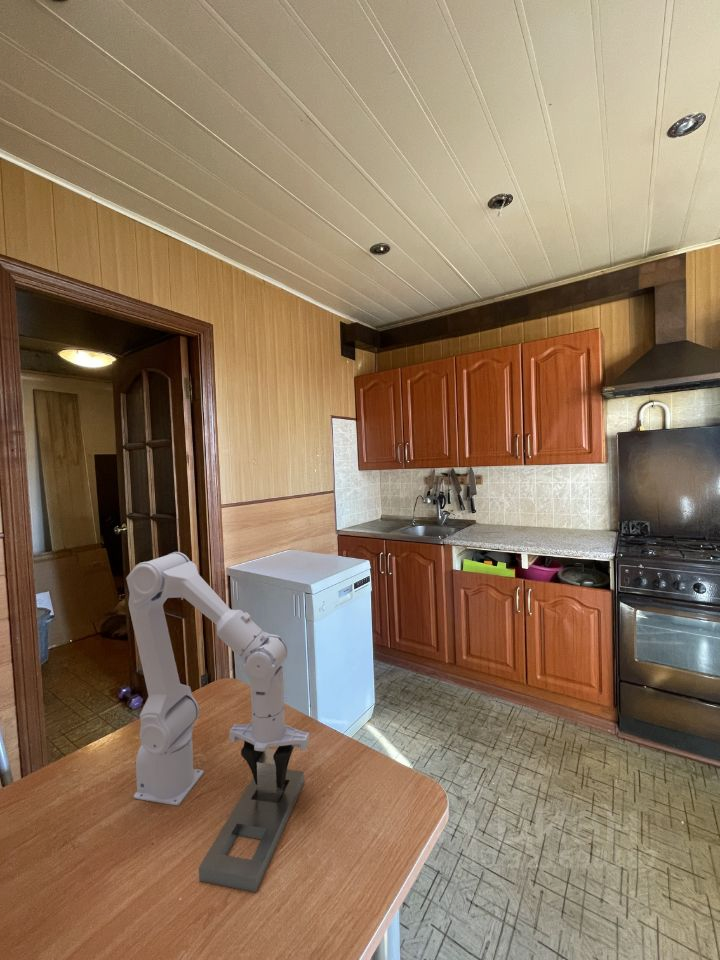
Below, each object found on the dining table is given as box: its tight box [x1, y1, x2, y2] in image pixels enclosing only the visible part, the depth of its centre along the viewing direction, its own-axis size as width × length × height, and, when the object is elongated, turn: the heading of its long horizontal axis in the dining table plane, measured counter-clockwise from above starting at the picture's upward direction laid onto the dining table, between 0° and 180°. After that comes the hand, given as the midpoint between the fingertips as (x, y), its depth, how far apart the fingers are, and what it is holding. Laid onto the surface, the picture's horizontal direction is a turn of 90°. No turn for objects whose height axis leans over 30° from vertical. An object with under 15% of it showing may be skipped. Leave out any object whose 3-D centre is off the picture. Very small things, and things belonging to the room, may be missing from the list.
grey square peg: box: [257, 748, 285, 804], centre depth 72 cm, size 4×4×7 cm
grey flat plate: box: [198, 769, 305, 893], centre depth 67 cm, size 9×20×2 cm, turn 168°
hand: (270, 781), depth 71 cm, fingers closed on grey square peg, 4 cm apart
